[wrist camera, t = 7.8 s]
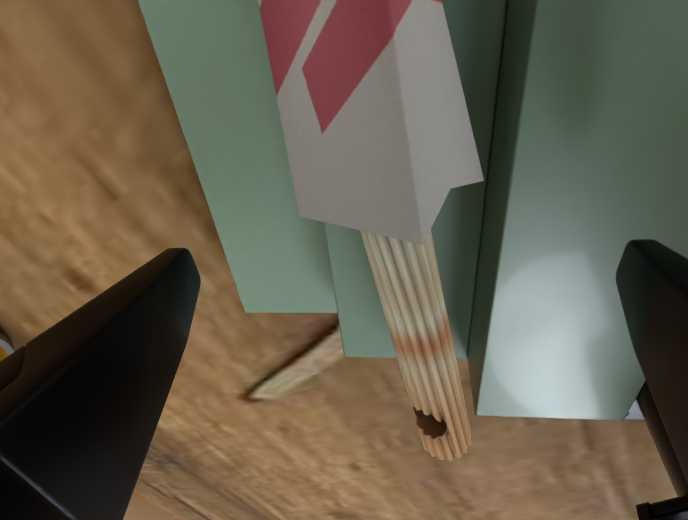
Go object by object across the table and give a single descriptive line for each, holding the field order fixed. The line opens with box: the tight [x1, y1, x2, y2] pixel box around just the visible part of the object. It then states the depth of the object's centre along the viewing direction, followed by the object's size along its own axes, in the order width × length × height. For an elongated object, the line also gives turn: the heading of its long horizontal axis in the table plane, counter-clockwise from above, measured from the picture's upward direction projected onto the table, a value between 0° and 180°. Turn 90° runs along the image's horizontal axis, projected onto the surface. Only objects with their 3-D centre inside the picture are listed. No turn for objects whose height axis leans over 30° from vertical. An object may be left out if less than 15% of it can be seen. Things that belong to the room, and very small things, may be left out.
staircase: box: [138, 0, 688, 420], centre depth 14 cm, size 18×15×7 cm
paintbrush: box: [258, 0, 484, 461], centre depth 11 cm, size 4×3×20 cm
